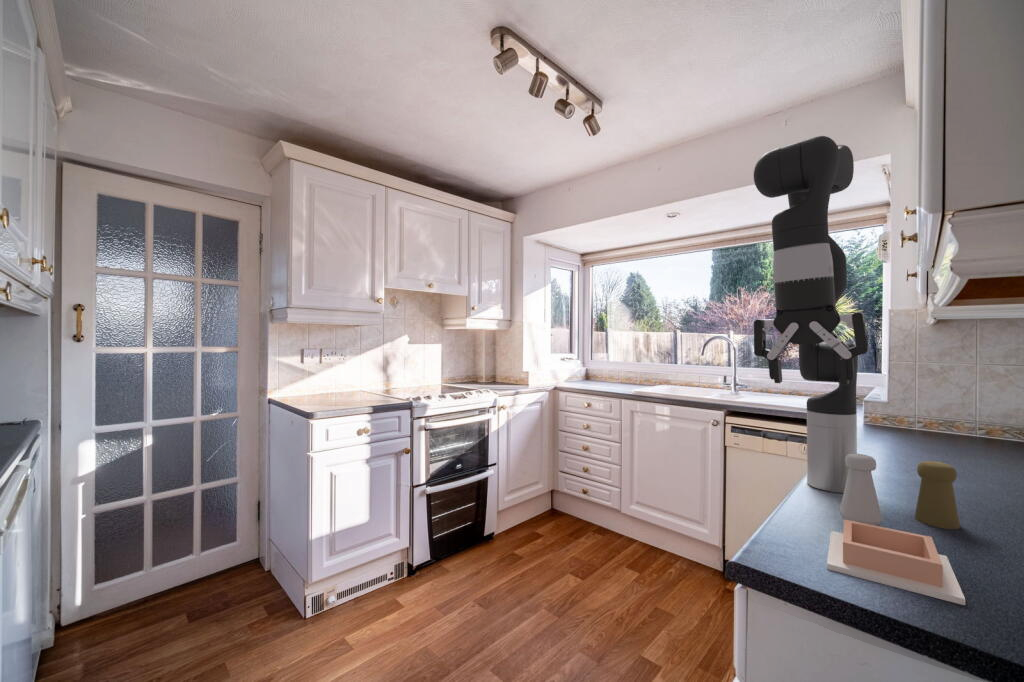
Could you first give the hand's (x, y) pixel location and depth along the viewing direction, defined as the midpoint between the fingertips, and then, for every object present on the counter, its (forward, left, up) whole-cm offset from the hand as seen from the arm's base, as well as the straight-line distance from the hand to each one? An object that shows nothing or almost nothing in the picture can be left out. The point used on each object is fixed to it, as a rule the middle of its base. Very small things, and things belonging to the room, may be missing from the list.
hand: (810, 383), depth 66 cm
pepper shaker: (-31, +17, -27) cm, 44 cm away
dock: (-5, +9, -27) cm, 29 cm away
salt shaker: (-19, +6, -27) cm, 33 cm away
